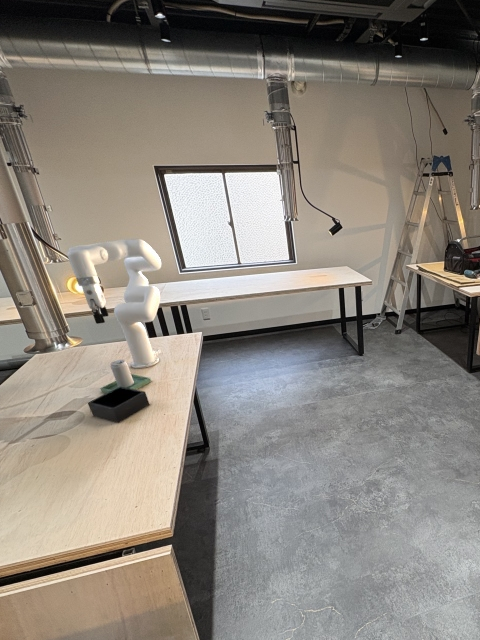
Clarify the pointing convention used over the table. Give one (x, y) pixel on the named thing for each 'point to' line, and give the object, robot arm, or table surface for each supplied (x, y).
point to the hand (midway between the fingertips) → (102, 319)
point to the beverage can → (122, 373)
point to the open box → (118, 404)
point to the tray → (138, 383)
